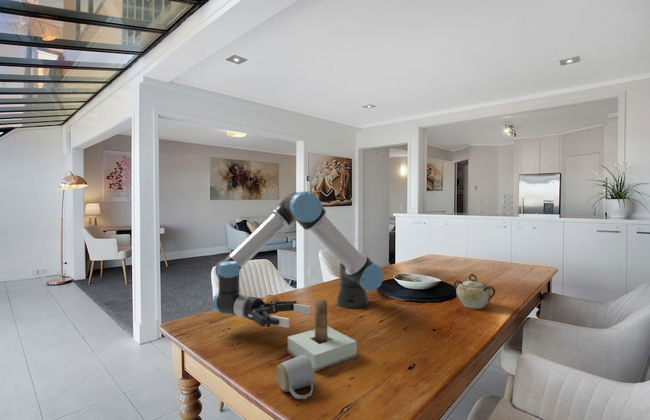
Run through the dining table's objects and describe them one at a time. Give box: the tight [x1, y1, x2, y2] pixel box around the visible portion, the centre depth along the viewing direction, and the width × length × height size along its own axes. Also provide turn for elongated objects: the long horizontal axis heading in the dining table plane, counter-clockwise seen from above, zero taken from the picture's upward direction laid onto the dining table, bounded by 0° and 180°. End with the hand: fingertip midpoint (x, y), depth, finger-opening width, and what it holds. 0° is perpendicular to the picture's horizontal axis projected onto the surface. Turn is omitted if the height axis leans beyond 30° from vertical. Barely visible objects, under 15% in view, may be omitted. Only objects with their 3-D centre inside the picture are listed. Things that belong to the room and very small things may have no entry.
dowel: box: [314, 299, 328, 344], centre depth 107 cm, size 4×4×16 cm
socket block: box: [287, 325, 358, 372], centre depth 107 cm, size 16×16×5 cm
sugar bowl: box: [453, 273, 496, 310], centre depth 153 cm, size 20×15×15 cm
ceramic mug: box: [276, 354, 315, 400], centre depth 87 cm, size 11×8×8 cm
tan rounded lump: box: [262, 294, 281, 303], centre depth 159 cm, size 9×7×4 cm
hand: (300, 316), depth 110 cm, fingers open, 13 cm apart
